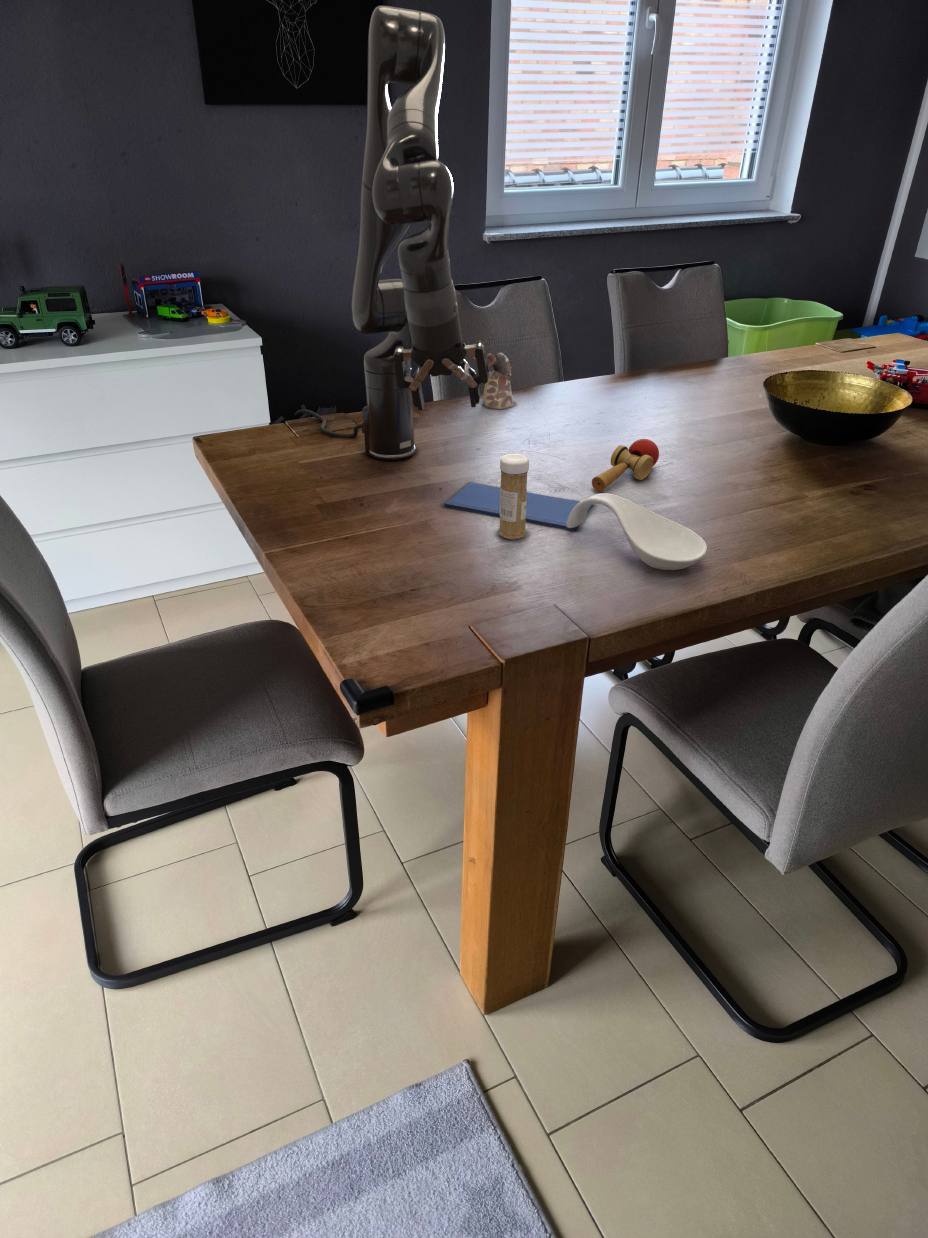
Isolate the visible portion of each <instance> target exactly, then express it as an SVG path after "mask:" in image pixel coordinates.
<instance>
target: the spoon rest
mask: <svg viewBox="0 0 928 1238" xmlns="http://www.w3.org/2000/svg"><path fill="white" fill-rule="evenodd" d="M579 501H580V502H579V503H578V504H577V505H576V506H575V507H574V508H573V509H572V511H571V513H570V515H569V517H568V520H567V524H566V527H567V528H574V527H576V526H577V527H578V526H580V525H582V524H584V523H585V522H586V520H587V516H588V513H587V512H589V511H588V509H589V507H590V505H592V504H593V505H603V506H605V507H607V508H609V509H610V510H611V511H612V513H613V514H614V515H615V516H616V518H617V520H618V523H619V525H620V527H621V529H622V531H623V533H624V535H625V537H626V540H627V543H628V544H629V546H630V548H631V550H632V551H633V553H634V554H635V555H636V556H637V557H638V559H640V560H641V561H642V562H643V563H644V564H646V565H647V566H648V567H650V568H653V569H657V570H663V571H676V570H683V569H686V568H688V567H691V566H693V565H695V564H696V563H698V562H700V561H701V560H702V559H703V558H704V557H705V556H706V554H707V552H708V546H707V544H706V542H705V540H704V539H703V538H702V537H701V536H700V535H699V534H697V533H696V532H694V531H693V530H691V529H690V528H688V527H686V526H684V525H683V524H679V523H678V522H676V521H673V520H671V519H669V518H666V517H664V516H662V515H660V514H658V513H657V512H653V511H652V510H650V509H648V508H645V507H644V506H642V505H640V504H637V503H635V502H633V501H631V500H629V499H627V498H624V497H622V496H619V495H616V494H613V493H607V492H606V493H605V492H603V493H602V492H600V493H596V494H593V495H591V496H590V497H588V498H585V499H583V500H579ZM577 527H576V528H577Z"/></svg>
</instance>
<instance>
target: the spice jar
mask: <svg viewBox="0 0 928 1238" xmlns="http://www.w3.org/2000/svg"><path fill="white" fill-rule="evenodd" d="M499 462H500V463H499V470H500V486H499V488H500V517H499V529H498V534H499V535H500V537H502V538H503V539H507V540H519V539H522V538H523V537H525V536H526V534H527V529H526V523H527V522H525V521H526V503H527V492H528V490H527V489H528V487H527V486H528V472H529V469H530V460H529V457H528V456H526V455H524V454H521V453H508V454H505V455H502V456H501V457H500V459H499Z"/></svg>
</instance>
